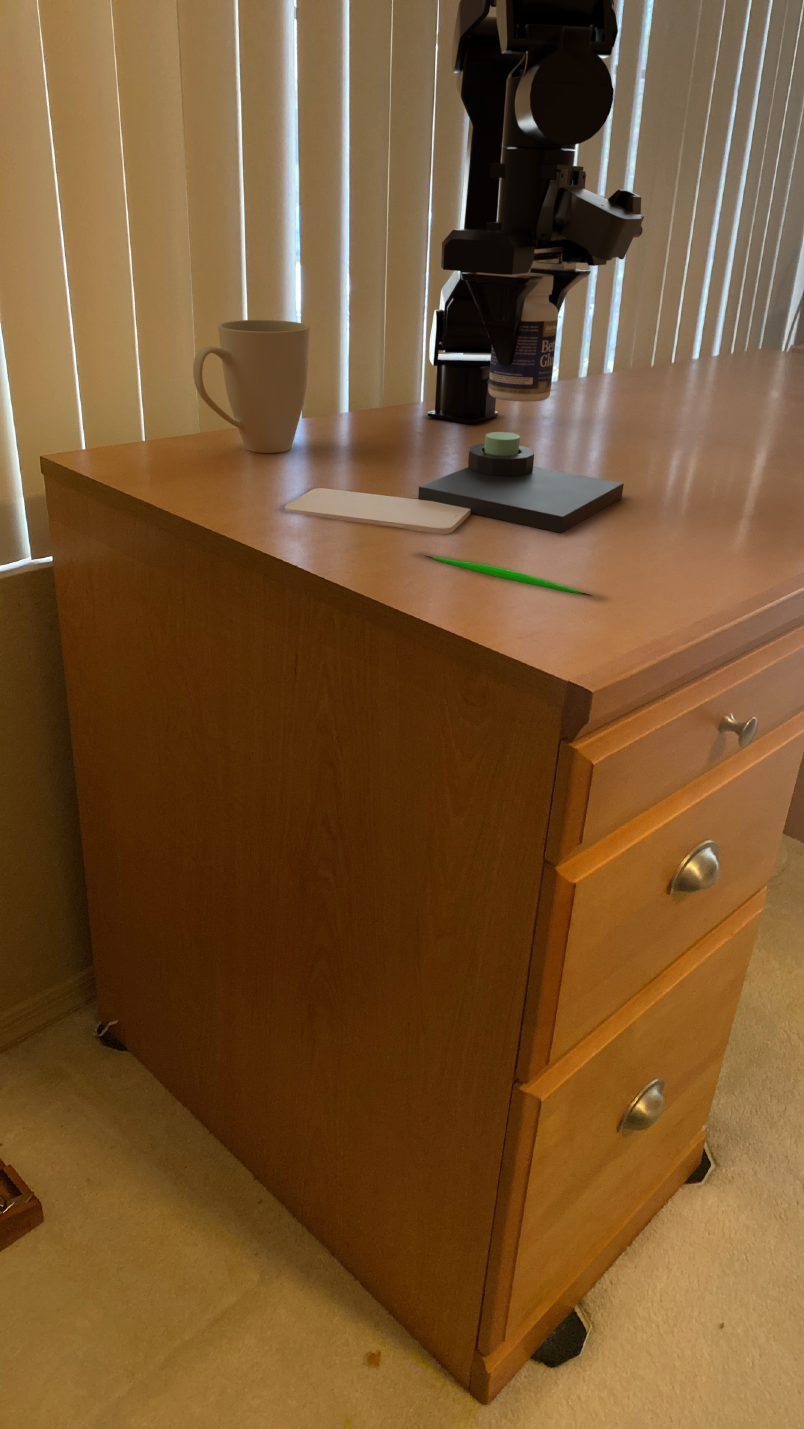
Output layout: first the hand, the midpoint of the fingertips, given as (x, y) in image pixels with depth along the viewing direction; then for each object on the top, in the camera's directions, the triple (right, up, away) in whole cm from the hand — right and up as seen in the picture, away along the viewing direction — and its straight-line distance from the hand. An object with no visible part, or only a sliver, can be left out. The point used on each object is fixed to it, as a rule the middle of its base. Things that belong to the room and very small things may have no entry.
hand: (520, 360), depth 83 cm
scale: (+1, -11, +5) cm, 12 cm away
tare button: (-1, -6, +9) cm, 11 cm away
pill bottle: (0, -3, +2) cm, 3 cm away
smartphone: (-12, -13, +1) cm, 18 cm away
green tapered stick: (-3, -21, -12) cm, 24 cm away
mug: (-25, -3, +19) cm, 31 cm away
